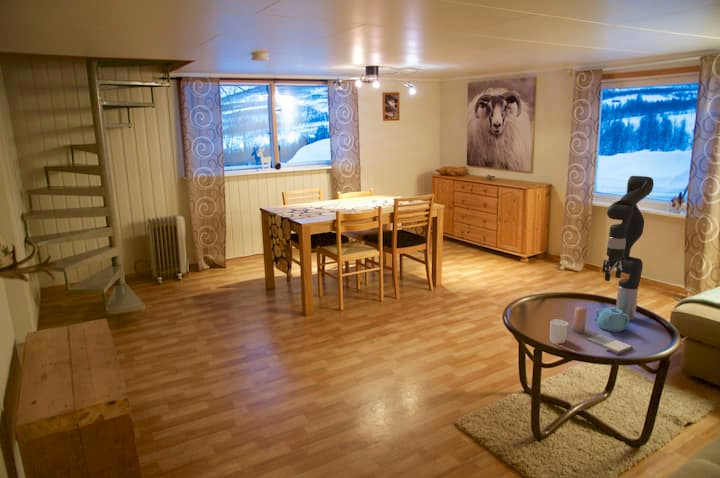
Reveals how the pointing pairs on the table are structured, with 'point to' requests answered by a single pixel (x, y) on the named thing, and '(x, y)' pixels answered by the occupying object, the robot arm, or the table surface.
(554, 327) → the white cup
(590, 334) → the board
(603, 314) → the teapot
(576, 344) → the table surface
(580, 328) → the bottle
